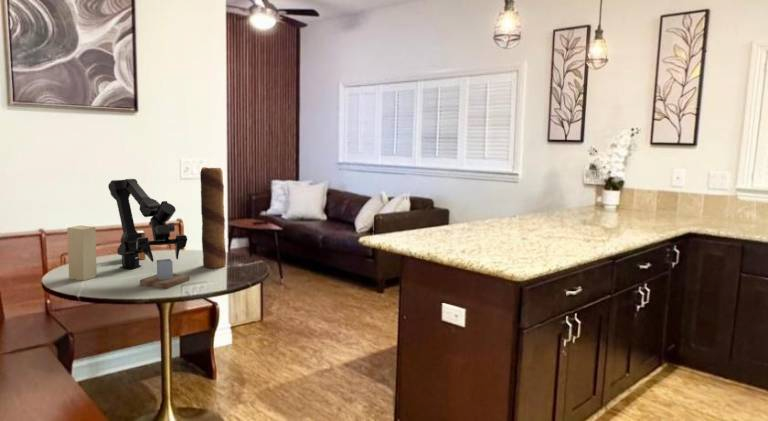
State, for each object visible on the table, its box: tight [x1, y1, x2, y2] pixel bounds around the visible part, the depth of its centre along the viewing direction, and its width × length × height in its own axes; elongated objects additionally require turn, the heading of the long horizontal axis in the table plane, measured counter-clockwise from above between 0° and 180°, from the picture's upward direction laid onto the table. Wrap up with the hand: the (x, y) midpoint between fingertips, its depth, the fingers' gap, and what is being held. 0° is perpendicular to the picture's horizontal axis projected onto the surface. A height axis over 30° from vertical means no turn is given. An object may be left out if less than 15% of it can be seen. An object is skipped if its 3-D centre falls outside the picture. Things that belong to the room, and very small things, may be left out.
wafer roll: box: [199, 167, 227, 269], centre depth 242 cm, size 10×11×45 cm
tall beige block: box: [66, 225, 98, 282], centre depth 218 cm, size 8×7×21 cm
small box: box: [136, 229, 146, 261], centre depth 253 cm, size 8×6×13 cm
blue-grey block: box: [156, 258, 174, 280], centre depth 215 cm, size 5×5×7 cm
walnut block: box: [139, 273, 190, 290], centre depth 216 cm, size 13×13×2 cm
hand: (165, 260), depth 213 cm, fingers open, 9 cm apart
